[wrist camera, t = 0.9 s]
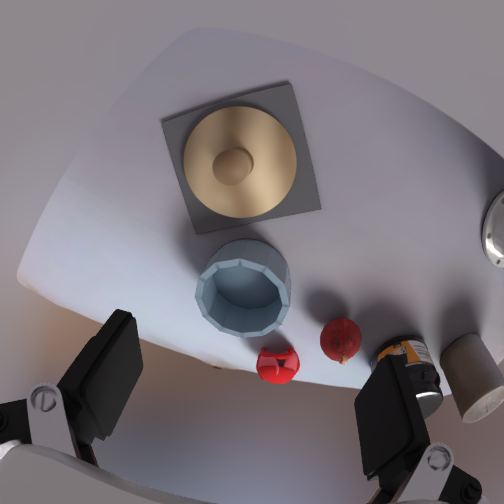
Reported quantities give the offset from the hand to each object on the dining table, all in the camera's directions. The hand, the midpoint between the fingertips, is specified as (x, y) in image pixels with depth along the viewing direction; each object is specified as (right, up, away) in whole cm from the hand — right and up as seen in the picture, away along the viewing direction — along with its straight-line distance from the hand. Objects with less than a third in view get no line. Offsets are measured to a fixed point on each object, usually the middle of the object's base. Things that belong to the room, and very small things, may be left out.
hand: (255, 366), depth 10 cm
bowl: (0, +1, +28) cm, 28 cm away
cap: (+4, -12, +34) cm, 36 cm away
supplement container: (+25, -13, +31) cm, 42 cm away
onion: (+13, -6, +30) cm, 33 cm away
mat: (-1, +15, +22) cm, 27 cm away
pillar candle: (+39, -14, +29) cm, 51 cm away
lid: (-2, +14, +22) cm, 26 cm away
